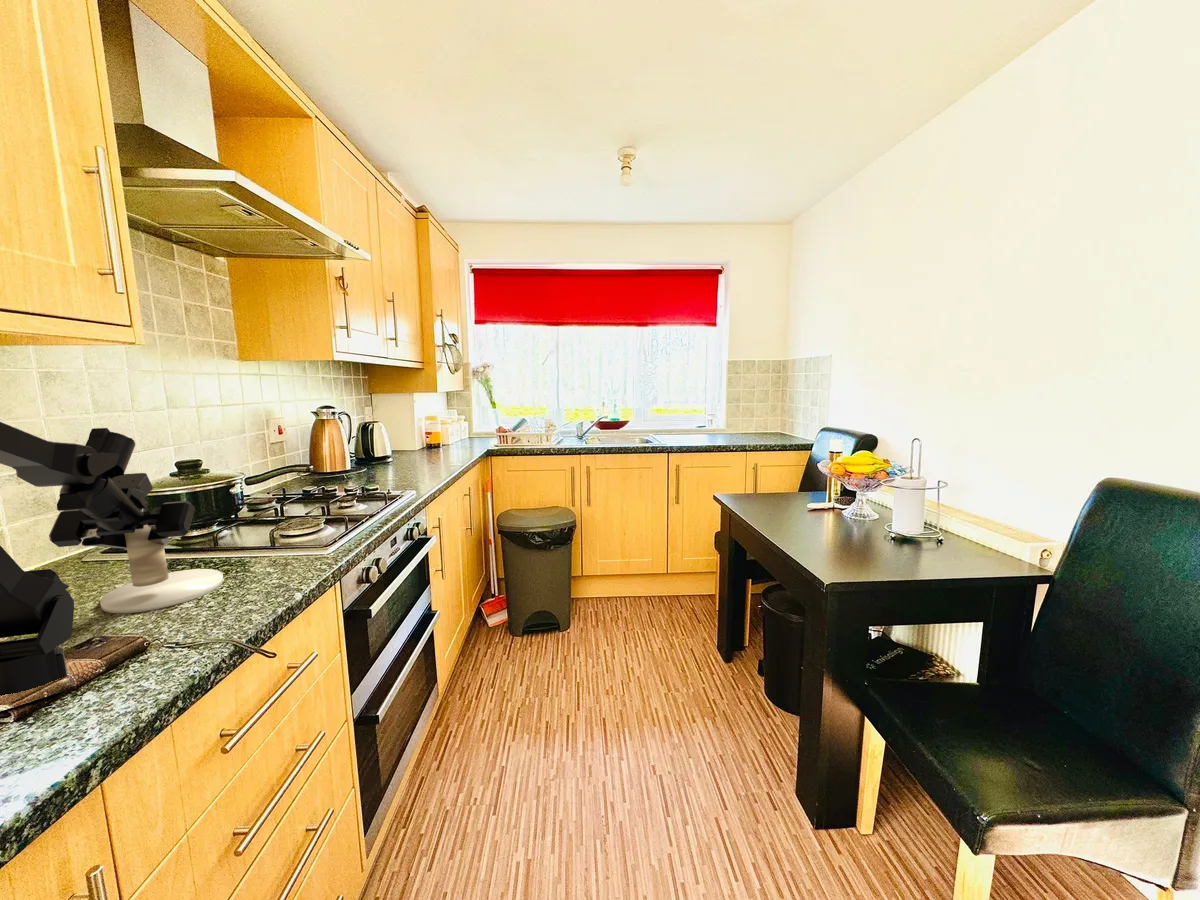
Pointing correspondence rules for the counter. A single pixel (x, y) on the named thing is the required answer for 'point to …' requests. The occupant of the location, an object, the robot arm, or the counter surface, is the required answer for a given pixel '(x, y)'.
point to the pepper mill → (145, 558)
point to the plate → (162, 591)
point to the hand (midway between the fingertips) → (149, 544)
